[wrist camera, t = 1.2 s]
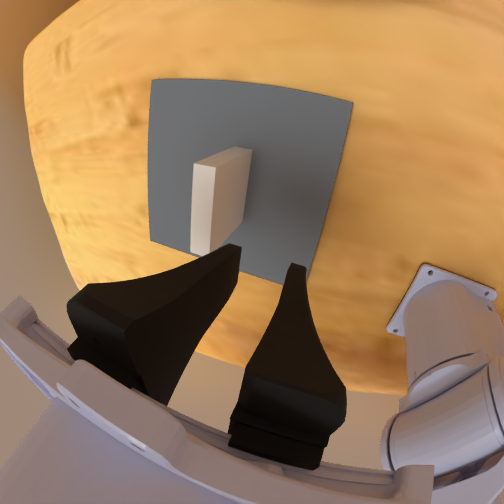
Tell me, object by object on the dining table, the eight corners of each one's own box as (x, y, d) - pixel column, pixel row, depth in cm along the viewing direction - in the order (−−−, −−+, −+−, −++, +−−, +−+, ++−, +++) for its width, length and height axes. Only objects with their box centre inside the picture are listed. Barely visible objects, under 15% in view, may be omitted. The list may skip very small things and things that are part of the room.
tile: (252, 149, 19) (215, 167, 14) (242, 221, 23) (209, 258, 18) (234, 146, 20) (192, 163, 15) (226, 216, 23) (189, 251, 18)
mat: (352, 102, 16) (353, 102, 15) (304, 286, 25) (302, 291, 24) (157, 79, 19) (151, 79, 19) (154, 237, 28) (150, 240, 27)
